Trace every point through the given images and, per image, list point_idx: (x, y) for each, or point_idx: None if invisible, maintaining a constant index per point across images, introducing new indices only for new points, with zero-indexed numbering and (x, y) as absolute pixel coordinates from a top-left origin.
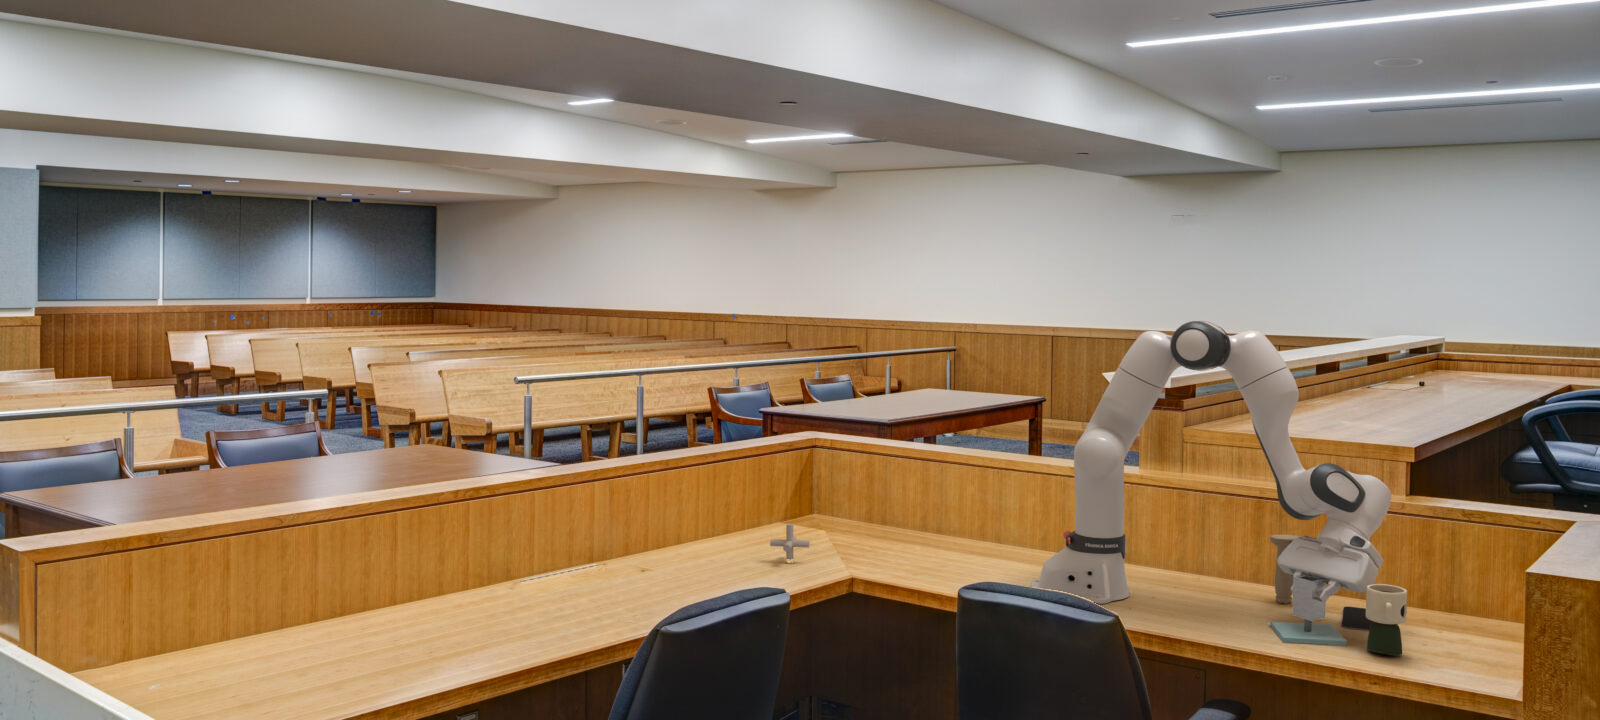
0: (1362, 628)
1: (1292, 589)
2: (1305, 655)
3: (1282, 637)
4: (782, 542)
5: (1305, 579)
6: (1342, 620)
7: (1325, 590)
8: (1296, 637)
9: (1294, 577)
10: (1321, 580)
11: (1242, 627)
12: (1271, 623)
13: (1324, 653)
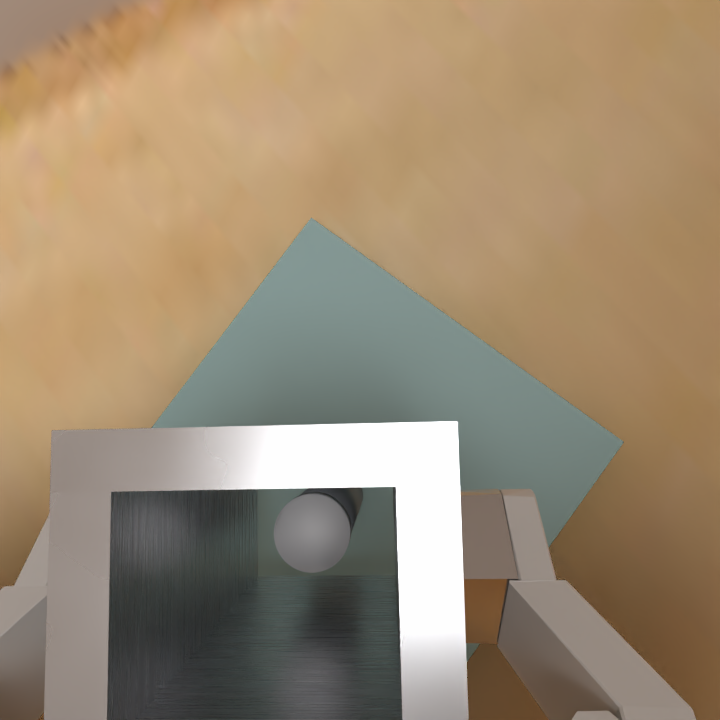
0: None
1: (501, 489)
2: (85, 154)
3: (332, 234)
4: None
5: (240, 483)
6: None
7: (11, 590)
8: (271, 298)
9: (432, 422)
10: (53, 690)
11: (673, 241)
12: (603, 429)
13: (53, 287)
